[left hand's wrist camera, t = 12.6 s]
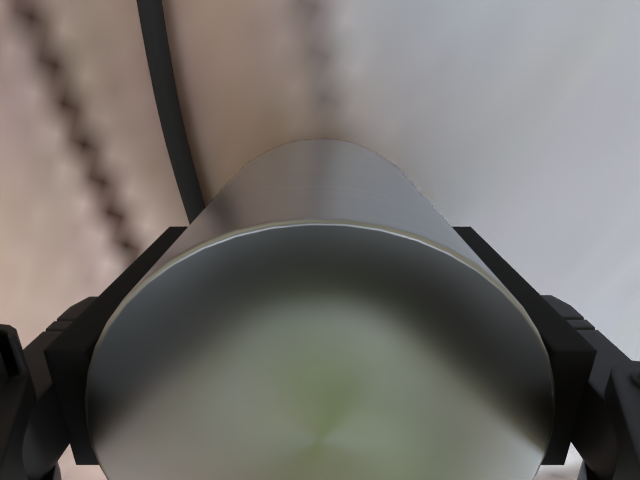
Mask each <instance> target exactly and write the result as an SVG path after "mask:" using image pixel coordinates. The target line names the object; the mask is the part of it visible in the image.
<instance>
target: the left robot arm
mask: <svg viewBox="0 0 640 480" xmlns="http://www.w3.org/2000/svg"><path fill="white" fill-rule="evenodd" d="M137 5H138V11H139V17H140V23H141V28H142V34H143V39H144V45H145V50H146V55H147V60H148V66H149V71H150V76H151V81H152V86H153V90H154V95H155V100H156V104H157V109H158V113H159V117H160V122H161V126H162V130H163V134H164V138H165V142H166V146H167V149H168V153H169V157H170V160H171V164H172V167H173V171H174V174H175V178H176V181H177V184H178V188H179V191H180V194H181V198H182V201H183V204H184V207H185V211H186V214H187V217H188V220H189V223H190V224H191V223H192V222H193V221H194V220H195V219H196V218H197V217H198V215H199V214H200V213H201V212H202V211H203V210H204V209H205V208H206V207H205V203H204V200H203V197H202V193H201V190H200V186H199V183H198V179H197V175H196V172H195V168H194V164H193V161H192V157H191V153H190V149H189V145H188V141H187V137H186V133H185V128H184V124H183V119H182V115H181V110H180V105H179V100H178V95H177V90H176V85H175V79H174V74H173V68H172V63H171V57H170V51H169V45H168V39H167V33H166V27H165V21H164V14H163V7H162V1H161V0H137ZM187 228H188V227H169V228H168V229H167V230H166V231H165V232H164V233H163V234H162V235H161V236H160V237H159V238H158V239H157V240H156V241H155V242H154V243H153V244H152V245H151V246H150V247H149V248H148V249H147V250H146V251H145V252H144V253H143V254H142V255H140V256H139V257H138V258H137V259H136V260H135V261H134V262H133V263H132V264H131V265H130V266H129V267H128V268H127V269H126V270H125V271H124V272H123V273H122V274H121V275H120V276H119V277H118V278H117V279H116V280H115V281H114V282H113V283H112V284H111V285H110V286H109V287H108V288H107V289H106V290H105V291H104V292H103V293H102V294H101V295H100V296H99V297H88V298H86V299H84V300H82V301H80V302H79V303H77V304H75V305H73V306H71V307H70V308H69V309H67V310H66V311H65V312H64V313H63V314H62V315H61V316H60V317H59V318H58V319H57V321H54V322H53V323H52V324H51V325H50V326H49V327H48V328H47V329H46V332H42V333H41V334H40V335H39V336H38V337H37V338H36V339H34V340H33V341H32V342H31V343H30V344H29V345H28V346H27V347H26V348H25V349H23V350H22V346H21V343H20V340H19V337H18V333H17V330H16V329H15V328H13V327H12V326H10V325H4V324H0V480H61V472H60V468H59V465H58V462H57V461H58V460H59V458H60V457H61V455H62V454H63V452H64V451H65V449H66V448H67V447H68V445H69V444H70V445H71V448H72V452H73V455H74V459H75V462H76V465H99V462H98V460H97V458H96V455H95V453H94V450H93V448H92V445H91V441H90V436H89V432H88V428H87V424H86V410H85V393H86V384H87V374H88V369H89V366H90V362H91V359H92V355H93V352H94V349H95V346H96V344H97V342H98V340H99V338H100V335H101V333H102V331H103V329H104V327H105V325H106V323H107V321H108V320H109V319H110V317H111V316H112V314H113V313H114V312H115V310H116V309H117V308H118V306H119V305H120V303H121V302H122V301H123V299H124V298H125V297H126V296H127V295H128V293H129V292H130V291H131V290H132V289H133V288H134V287H135V286H136V285H137V283H138V282H139V281H140V280H141V279H142V278H143V277H144V276H145V275H146V273H147V272H148V271H149V270H150V269H151V268H152V267H153V266H154V265H155V263H156V262H157V261H158V260H159V259H160V258H161V257H162V256H163V254H164V253H165V252H166V251H167V250H168V249H169V248H170V247H171V246H172V244H173V243H174V242H175V241H176V240H177V239H178V238H179V237H180V236H181V234H182V233H183V232H184V231H185V230H186V229H187ZM452 228H453V229H454V230H455V231H456V232H457V233H458V235H459V236H460V237H461V238H462V239H463V240H464V241H465V242H466V244H467V245H468V246H469V247H470V248H471V249H472V250H473V251H474V252H475V254H476V255H477V256H478V257H479V258H480V259H481V260H482V261H483V263H484V264H485V265H486V266H487V267H488V268H489V269H490V270H491V271H492V273H493V274H494V275H495V276H496V277H497V278H498V279H499V280H500V282H501V283H502V284H503V285H504V286H505V287H506V288H507V289H508V291H509V292H510V293H511V294H512V295H513V296H514V297H515V298H516V300H517V301H518V302H519V303H520V304H521V305H522V306H523V308H524V309H525V311H526V312H527V314H528V316H529V317H530V319H531V320H532V322H533V323H534V325H535V327H536V328H537V330H538V332H539V334H540V336H541V339H542V341H543V344H544V346H545V348H546V351H547V353H548V356H549V361H550V365H551V369H552V374H553V378H554V387H555V415H554V423H553V431H552V435H551V438H550V442H549V445H548V448H547V452H546V455H545V457H544V459H543V461H542V463H541V465H564V463H565V460H566V456H567V453H568V450H569V446H570V443H571V442H572V444H573V445H574V447H575V448H576V450H577V451H578V453H579V454H580V455H581V457H582V458H583V462H582V465H581V468H580V471H579V474H578V478H577V480H640V361H632V360H630V359H629V358H628V357H627V356H626V355H625V354H624V353H623V352H621V351H620V350H619V349H618V348H617V347H616V346H615V345H614V344H613V343H611V342H610V341H609V340H608V339H607V338H606V337H605V336H604V335H603V334H601V333H600V332H599V331H598V330H595V327H594V326H593V325H592V324H590V323H589V322H588V321H587V320H584V317H583V316H582V315H580V314H579V313H578V312H577V311H576V310H575V309H574V308H573V307H572V306H570V305H569V304H567V303H565V302H563V301H561V300H559V299H557V298H555V297H553V296H551V295H540V294H539V293H538V292H537V291H536V290H535V289H534V288H533V287H532V286H530V285H529V284H528V283H527V282H526V281H525V280H524V279H523V278H522V277H521V276H520V275H519V274H518V273H517V272H516V271H515V270H514V269H513V268H512V267H511V266H510V265H509V264H508V263H507V262H506V261H505V260H504V259H503V258H502V257H501V256H500V255H499V254H498V253H497V252H496V251H495V250H494V249H493V248H492V247H491V246H490V245H489V244H488V243H487V242H485V241H484V240H483V239H482V238H481V237H480V236H479V235H478V234H477V233H476V232H475V231H474V230H473V229H472V228H471V227H452Z"/></svg>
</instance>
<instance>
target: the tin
mask: <svg viewBox="0 0 640 480" xmlns="http://www.w3.org/2000/svg"><path fill="white" fill-rule="evenodd" d="M85 410H86V424H87V428H88V432H89V436H90V441H91V445H92V448H93V450H94V453H95V455H96V458H97V460H98V462H99V465H100V467H101V469H102V471H103V473H104V474H105V476H106V478H107V479H108V480H533V479H534V477H535V476H536V474H537V471H538V469H539V467H540V465H541V463H542V461H543V459H544V457H545V455H546V452H547V448H548V445H549V442H550V438H551V435H552V431H553V423H554V415H555V387H554V378H553V374H552V369H551V365H550V361H549V356H548V353H547V351H546V348H545V346H544V344H543V341H542V339H541V336H540V334H539V332H538V330H537V328H536V327H535V325H534V323H533V322H532V320H531V319H530V317H529V316H528V314H527V312H526V311H525V309H524V308H523V306H522V305H521V304H520V303H519V302H518V301H517V300H516V298H515V297H514V296H513V295H512V294H511V293H510V292H509V291H508V289H507V288H506V287H505V286H504V285H503V284H502V283H501V282H500V280H499V279H498V278H497V277H496V276H495V275H494V274H493V273H492V271H491V270H490V269H489V268H488V267H487V266H486V265H485V264H484V263H483V261H482V260H481V259H480V258H479V257H478V256H477V255H476V254H475V252H474V251H473V250H472V249H471V248H470V247H469V246H468V245H467V244H466V242H465V241H464V240H463V239H462V238H461V237H460V236H459V235H458V233H457V232H456V231H455V230H454V229H453V228H452V227H451V226H450V225H449V223H448V222H447V221H446V220H445V219H444V218H443V217H442V216H441V214H440V213H439V212H438V211H437V210H436V209H435V208H434V207H433V206H432V204H431V203H430V202H429V201H428V200H427V199H426V198H425V197H424V195H423V194H422V193H421V192H420V191H419V190H418V189H417V188H416V187H415V185H414V184H413V183H412V182H411V181H410V180H409V179H408V178H407V176H406V175H405V174H404V173H403V172H402V171H401V170H400V169H399V168H397V167H396V166H395V165H394V164H393V163H392V162H390V161H389V160H387V159H386V158H384V157H382V156H381V155H379V154H378V153H376V152H374V151H371V150H369V149H367V148H365V147H363V146H359V145H356V144H353V143H350V142H345V141H339V140H333V139H309V140H300V141H295V142H291V143H287V144H283V145H281V146H278V147H276V148H273V149H271V150H268V151H266V152H265V153H263V154H261V155H259V156H258V157H256V158H254V159H253V160H252V161H250V162H249V163H248V164H246V165H245V166H244V167H242V168H241V169H240V171H239V172H238V173H237V174H236V175H235V176H234V177H233V178H232V179H231V180H230V181H229V182H228V183H227V184H226V185H225V186H224V188H223V189H222V190H221V191H220V192H219V193H218V194H217V195H216V197H215V198H214V199H213V200H212V201H211V202H210V203H209V204H208V205H207V207H206V208H205V209H204V210H203V211H202V212H201V213H200V214H199V215H198V217H197V218H196V219H195V220H194V221H193V222H192V223H191V224H190V225H189V227H188V228H187V229H186V230H185V231H184V232H183V233H182V234H181V236H180V237H179V238H178V239H177V240H176V241H175V242H174V243H173V244H172V246H171V247H170V248H169V249H168V250H167V251H166V252H165V253H164V254H163V256H162V257H161V258H160V259H159V260H158V261H157V262H156V263H155V265H154V266H153V267H152V268H151V269H150V270H149V271H148V272H147V273H146V275H145V276H144V277H143V278H142V279H141V280H140V281H139V282H138V283H137V285H136V286H135V287H134V288H133V289H132V290H131V291H130V292H129V293H128V295H127V296H126V297H125V298H124V299H123V301H122V302H121V303H120V305H119V306H118V308H117V309H116V310H115V312H114V313H113V314H112V316H111V317H110V319H109V320H108V321H107V323H106V325H105V327H104V329H103V331H102V333H101V335H100V338H99V340H98V342H97V344H96V346H95V349H94V352H93V355H92V359H91V362H90V366H89V369H88V374H87V384H86V393H85Z"/></svg>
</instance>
